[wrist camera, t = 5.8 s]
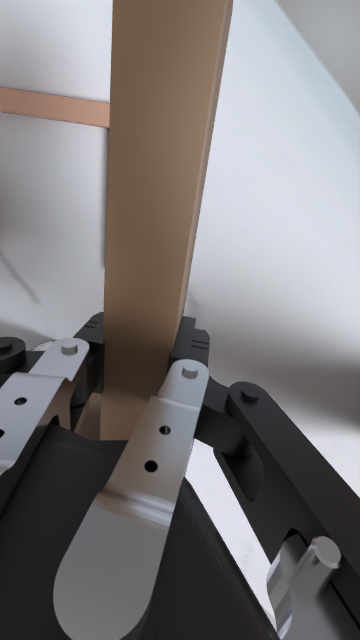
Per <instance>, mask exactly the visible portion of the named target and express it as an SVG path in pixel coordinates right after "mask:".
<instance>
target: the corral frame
mask: <svg viewBox="0 0 360 640" xmlns="http://www.w3.org/2000/svg"><path fill="white" fill-rule="evenodd" d="M0 112H6V113H12V114H19V115H25V116H32V117H38V118H45V119H51V120H58V121H64V122H71V123H77V124H84V125H90V126H97V127H103V128H109V117H110V104H109V103H103V102H96V101H89V100H83V99H76V98H69V97H63V96H56V95H49V94H43V93H36V92H29V91H23V90H16V89H9V88H3V87H0Z"/></svg>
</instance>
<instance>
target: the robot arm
mask: <svg viewBox="0 0 360 640" xmlns="http://www.w3.org/2000/svg"><path fill="white" fill-rule="evenodd" d="M103 319H104V312H100V313H98V314H96V315H93V316H92V317H91V319H90V320H89V321H88V322H87V323H86V324H85V325H84V326H83V327H82V328H81V329H80V330H79V331H78V332H77V333H76V334H75V336H74V337H73V338H63V339H59V340H57V341H55V342H53V343H52V344H51V345H50V346H49V347H48V349H47V350H46V351H26V346H25V342H24V341H23V340H21V339H19V338H15V337H1V338H0V640H360V498H359V497H358V496H357V494H356V493H355V492H354V491H353V490H352V489H351V488H350V486H349V485H348V484H347V483H346V482H345V481H344V480H343V479H342V477H341V476H340V475H339V474H338V473H337V472H336V471H335V469H334V468H333V467H332V466H331V465H330V464H329V463H328V461H327V460H326V459H325V458H324V457H323V456H322V455H321V454H320V452H319V451H318V450H317V449H316V448H315V447H314V446H313V444H312V443H311V442H310V441H309V440H308V439H307V438H306V436H305V435H304V434H303V433H302V432H301V431H300V430H299V429H298V427H297V426H296V425H295V424H294V423H293V422H292V421H291V419H290V418H289V417H288V416H287V415H286V414H285V413H284V411H283V410H282V409H281V408H280V407H279V406H278V405H277V404H276V402H275V401H274V400H273V399H272V398H271V397H270V396H269V394H268V393H267V392H266V391H265V390H264V389H262V388H261V387H259V386H257V385H255V384H252V383H249V382H236V383H234V384H232V385H231V386H230V388H228V387H226V386H223V385H221V384H219V383H217V382H216V381H215V380H213V379H212V378H211V376H210V375H209V370H208V356H209V340H210V337H209V335H208V334H207V332H206V331H205V330H199V329H194V327H195V321H196V318H191V317H186V316H182V318H181V321H180V325H179V329H178V332H177V336H176V339H175V343H174V347H173V350H172V354H169V358H168V365H167V372H166V378H165V381H164V383H163V385H162V387H161V389H160V391H159V393H158V395H154V394H153V395H152V396H151V398H150V400H149V402H148V404H147V406H146V408H145V410H144V412H143V414H142V416H141V418H140V420H139V422H138V423H137V425H136V427H135V429H134V431H133V433H132V435H131V437H130V439H129V440H89V439H87V438H85V437H82V436H80V435H78V432H79V429H80V427H81V424H82V422H83V419H84V417H85V414H86V412H87V409H88V407H89V398H90V396H91V394H92V393H98V394H102V393H103V383H104V353H105V341H103ZM194 439H197V440H199V441H201V442H203V443H205V444H207V445H209V446H211V447H213V452H214V455H215V458H216V459H217V461H218V463H219V465H220V467H221V469H222V471H223V473H224V475H225V477H226V479H227V481H228V483H229V485H230V486H231V488H232V490H233V492H234V494H235V496H236V498H237V500H238V502H239V504H240V506H241V508H242V510H243V512H244V513H245V515H246V517H247V519H248V521H249V523H250V525H251V527H252V529H253V531H254V533H255V535H256V537H257V539H258V541H259V542H260V544H261V546H262V548H263V550H264V552H265V554H266V556H267V558H268V560H269V562H270V564H271V567H270V569H269V571H268V574H267V592H268V596H269V599H270V602H271V605H272V608H273V611H274V614H275V619H276V626H277V632H276V631H275V629H274V627H273V625H272V624H271V622H270V620H269V619H268V617H267V615H266V613H265V612H264V610H263V608H262V606H261V605H260V603H259V601H258V599H257V598H256V596H255V594H254V593H253V591H252V589H251V587H250V586H249V584H248V582H247V580H246V579H245V577H244V575H243V574H242V572H241V570H240V568H239V567H238V565H237V563H236V561H235V560H234V558H233V556H232V555H231V553H230V551H229V549H228V548H227V546H226V544H225V542H224V541H223V539H222V537H221V536H220V534H219V532H218V530H217V529H216V527H215V525H214V523H213V522H212V520H211V518H210V516H209V515H208V513H207V511H206V510H205V508H204V506H203V504H202V503H201V501H200V499H199V497H198V496H197V494H196V492H195V491H194V489H193V487H192V486H191V484H190V483H189V482H188V480H187V479H186V478H185V475H186V471H187V467H188V463H189V459H190V455H191V451H192V447H193V443H194Z"/></svg>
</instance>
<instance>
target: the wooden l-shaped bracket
mask: <svg viewBox="0 0 360 640" xmlns="http://www.w3.org/2000/svg"><path fill="white" fill-rule="evenodd" d="M232 8H233V0H113V17H112V50H111V84H110V117H109V151H108V185H107V218H106V252H105V286H104V319H103V341H105V353H104V383H103V393H102V394H98V393H92V394H91V396H90V398H89V407H88V409H87V412H86V414H85V417H84V419H83V422H82V424H81V427H80V429H79V432H78V435H80V436H82V437H85V438H87V439H89V440H129V439H130V437H131V435H132V433H133V431H134V429H135V427H136V425H137V423H138V422H139V420H140V418H141V416H142V414H143V412H144V410H145V408H146V406H147V404H148V402H149V400H150V398H151V396H152V395H153V394H154V395H158V393H159V391H160V389H161V387H162V385H163V383H164V381H165V378H166V372H167V365H168V358H169V354H172V350H173V347H174V343H175V339H176V336H177V332H178V329H179V325H180V321H181V318H182V316H183V313H184V306H185V300H186V294H187V288H188V282H189V275H190V269H191V263H192V257H193V251H194V245H195V238H196V232H197V226H198V220H199V214H200V207H201V201H202V195H203V189H204V183H205V177H206V170H207V164H208V158H209V152H210V146H211V139H212V133H213V127H214V121H215V115H216V109H217V102H218V96H219V90H220V84H221V78H222V71H223V65H224V59H225V53H226V47H227V41H228V34H229V28H230V22H231V16H232Z"/></svg>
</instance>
